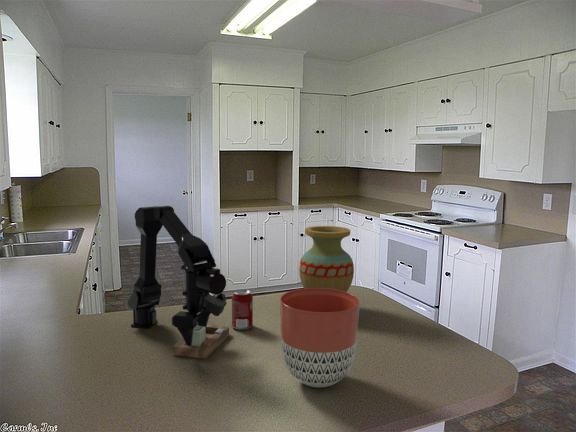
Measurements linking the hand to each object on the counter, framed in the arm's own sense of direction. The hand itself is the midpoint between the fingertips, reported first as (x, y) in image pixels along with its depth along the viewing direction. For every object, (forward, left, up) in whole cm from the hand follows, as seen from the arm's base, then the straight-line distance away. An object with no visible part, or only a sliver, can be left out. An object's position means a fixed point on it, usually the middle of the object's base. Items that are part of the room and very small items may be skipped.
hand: (196, 339), depth 133 cm
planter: (+37, -10, -4) cm, 38 cm away
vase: (+31, +44, -4) cm, 54 cm away
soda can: (+7, +20, -4) cm, 22 cm away
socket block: (0, +4, -3) cm, 6 cm away
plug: (0, 0, -3) cm, 3 cm away
